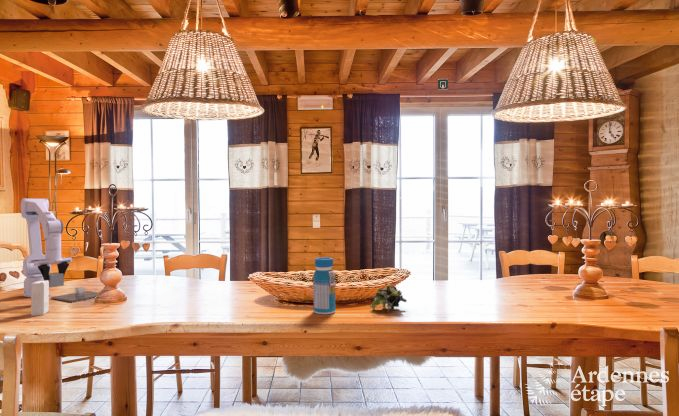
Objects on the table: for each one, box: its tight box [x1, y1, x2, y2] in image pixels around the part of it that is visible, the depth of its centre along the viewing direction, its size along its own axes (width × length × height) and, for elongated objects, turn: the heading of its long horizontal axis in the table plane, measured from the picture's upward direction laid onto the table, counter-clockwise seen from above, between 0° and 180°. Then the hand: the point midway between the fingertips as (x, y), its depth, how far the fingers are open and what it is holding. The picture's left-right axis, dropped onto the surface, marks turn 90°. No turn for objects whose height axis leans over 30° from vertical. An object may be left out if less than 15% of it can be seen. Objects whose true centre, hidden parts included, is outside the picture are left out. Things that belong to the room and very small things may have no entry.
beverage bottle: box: [312, 256, 336, 315], centre depth 168 cm, size 8×8×20 cm
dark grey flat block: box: [50, 286, 100, 303], centre depth 201 cm, size 16×16×4 cm
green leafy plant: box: [370, 284, 407, 314], centre depth 170 cm, size 11×11×12 cm
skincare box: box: [30, 280, 50, 317], centre depth 170 cm, size 6×4×12 cm
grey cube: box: [49, 272, 65, 288], centre depth 190 cm, size 5×5×5 cm
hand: (53, 281), depth 190 cm, fingers closed on grey cube, 5 cm apart
